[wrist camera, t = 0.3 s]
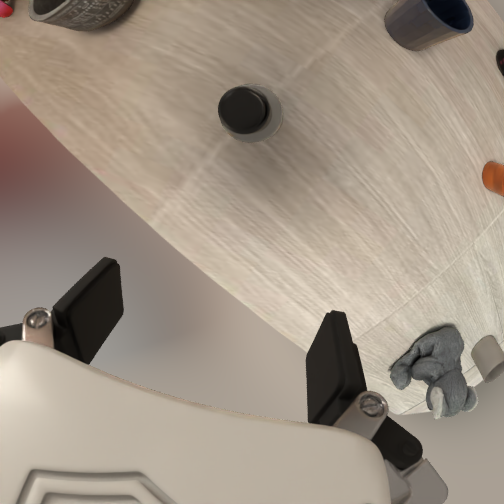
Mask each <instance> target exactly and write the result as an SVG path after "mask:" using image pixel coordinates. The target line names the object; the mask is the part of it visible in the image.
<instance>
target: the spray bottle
mask: <svg viewBox="0 0 504 504" xmlns="http://www.w3.org/2000/svg"><path fill="white" fill-rule="evenodd" d="M218 113H219V117H220V120H221V123H222V126H223V127H224V129H225V131H226V132H227V133H228V134H229V135H230V136H231V137H233V138H234V139H236V140H239V141H241V142H245V143H257V142H261V141H264V140H266V139H268V138H270V137H271V136H272V135H274V134H275V133H276V132H277V131H278V129H279V128H280V126H281V124H282V119H283V109H282V105H281V102H280V100H279V98H278V97H277V96H276V94H275V93H274V92H273V91H271V90H270V89H269V88H267V87H265V86H262V85H258V84H244V85H241V86H238V87H235V88H232V89H230V90H229V91H227V92H226V93H225V94H224V95H223V96H222V98H221V100H220V102H219V106H218Z"/></svg>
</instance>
